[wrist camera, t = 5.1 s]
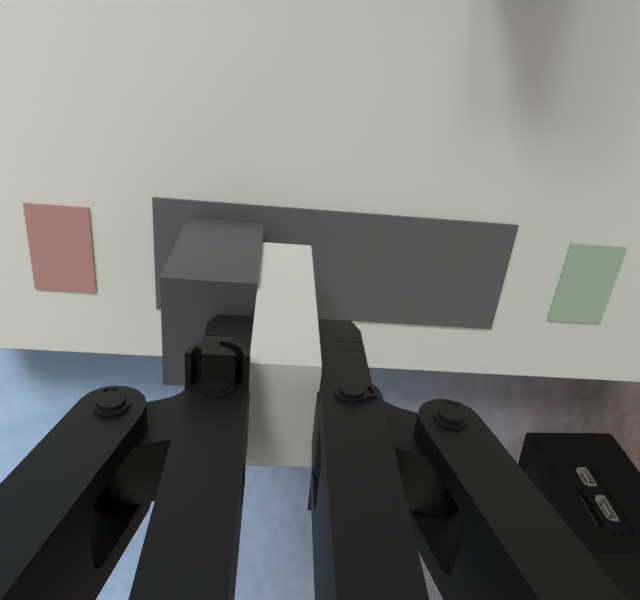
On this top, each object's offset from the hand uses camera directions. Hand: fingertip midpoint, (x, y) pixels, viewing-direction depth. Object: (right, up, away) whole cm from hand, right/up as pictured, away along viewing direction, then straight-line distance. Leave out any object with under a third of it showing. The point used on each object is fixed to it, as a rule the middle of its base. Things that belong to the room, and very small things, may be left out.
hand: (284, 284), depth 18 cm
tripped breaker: (-2, +1, +1) cm, 2 cm away
